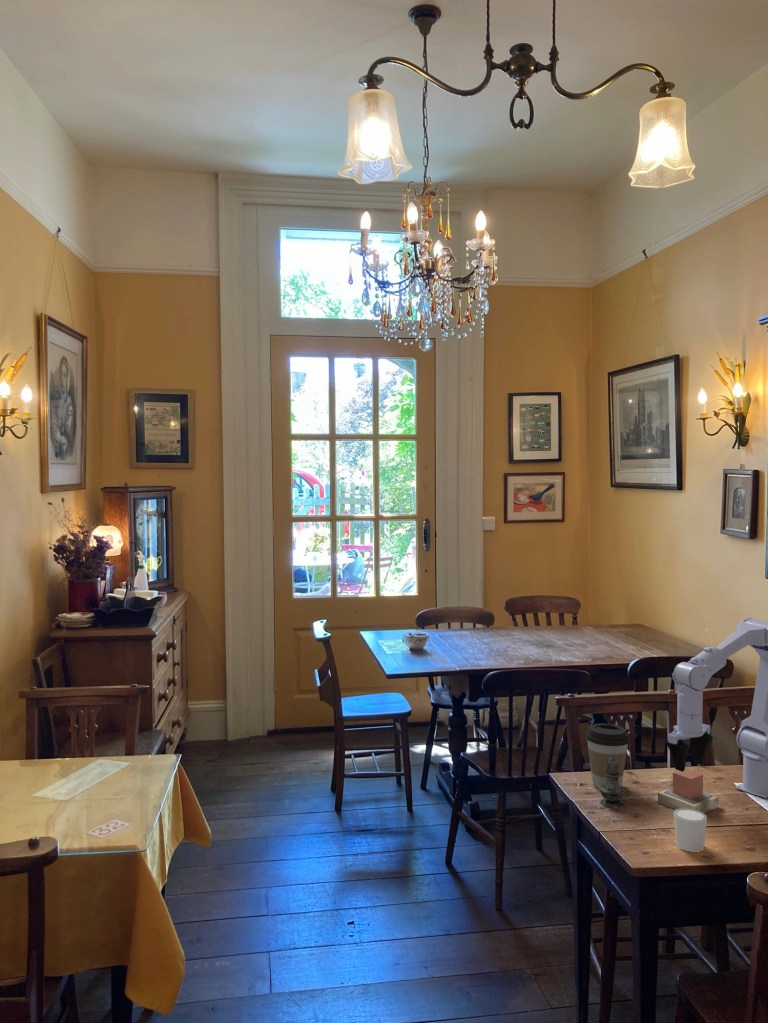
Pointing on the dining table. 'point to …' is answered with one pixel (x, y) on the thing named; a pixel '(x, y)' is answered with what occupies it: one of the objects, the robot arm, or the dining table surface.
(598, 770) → the coffee cup
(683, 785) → the block
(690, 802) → the base
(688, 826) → the shot glass
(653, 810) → the dining table surface
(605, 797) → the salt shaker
